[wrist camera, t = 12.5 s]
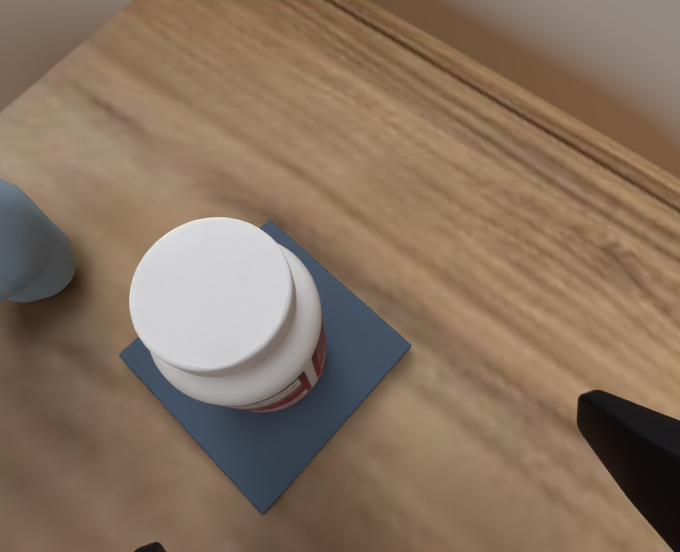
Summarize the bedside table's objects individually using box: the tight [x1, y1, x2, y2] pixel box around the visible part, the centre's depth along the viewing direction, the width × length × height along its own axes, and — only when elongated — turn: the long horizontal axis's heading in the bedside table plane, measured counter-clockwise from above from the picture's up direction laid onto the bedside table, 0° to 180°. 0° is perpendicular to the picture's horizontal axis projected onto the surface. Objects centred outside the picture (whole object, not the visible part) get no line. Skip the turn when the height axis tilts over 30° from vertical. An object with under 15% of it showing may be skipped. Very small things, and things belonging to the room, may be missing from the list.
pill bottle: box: [129, 217, 326, 412], centre depth 17 cm, size 6×6×11 cm
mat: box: [119, 220, 411, 515], centre depth 23 cm, size 11×11×1 cm
